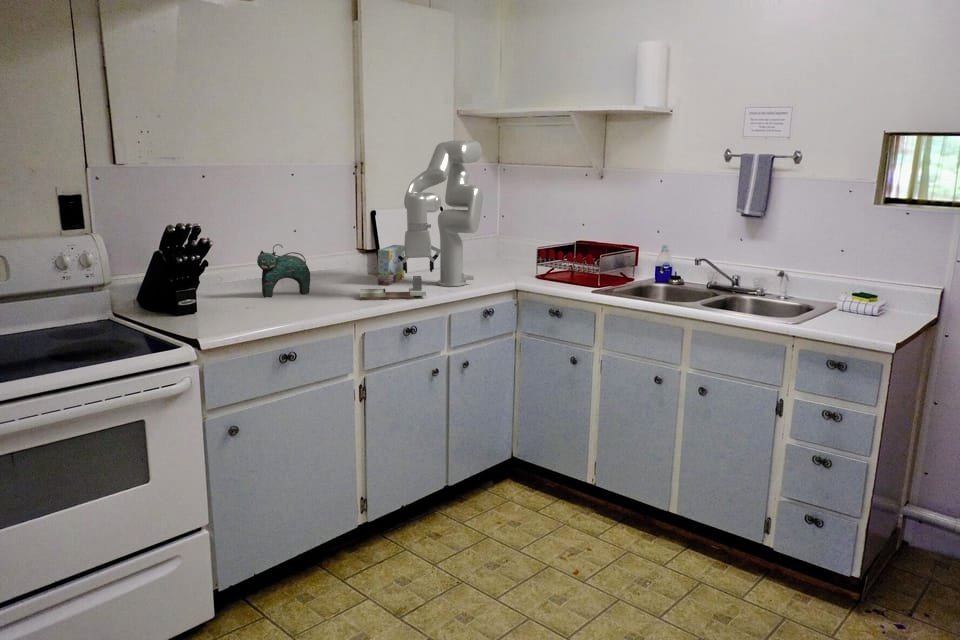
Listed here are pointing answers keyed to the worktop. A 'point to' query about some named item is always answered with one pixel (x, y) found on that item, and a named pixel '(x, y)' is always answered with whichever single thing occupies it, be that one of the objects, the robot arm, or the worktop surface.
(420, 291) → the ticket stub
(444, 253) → the robot arm
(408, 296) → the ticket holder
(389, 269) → the snack box
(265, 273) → the ceramic cat
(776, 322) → the worktop surface
